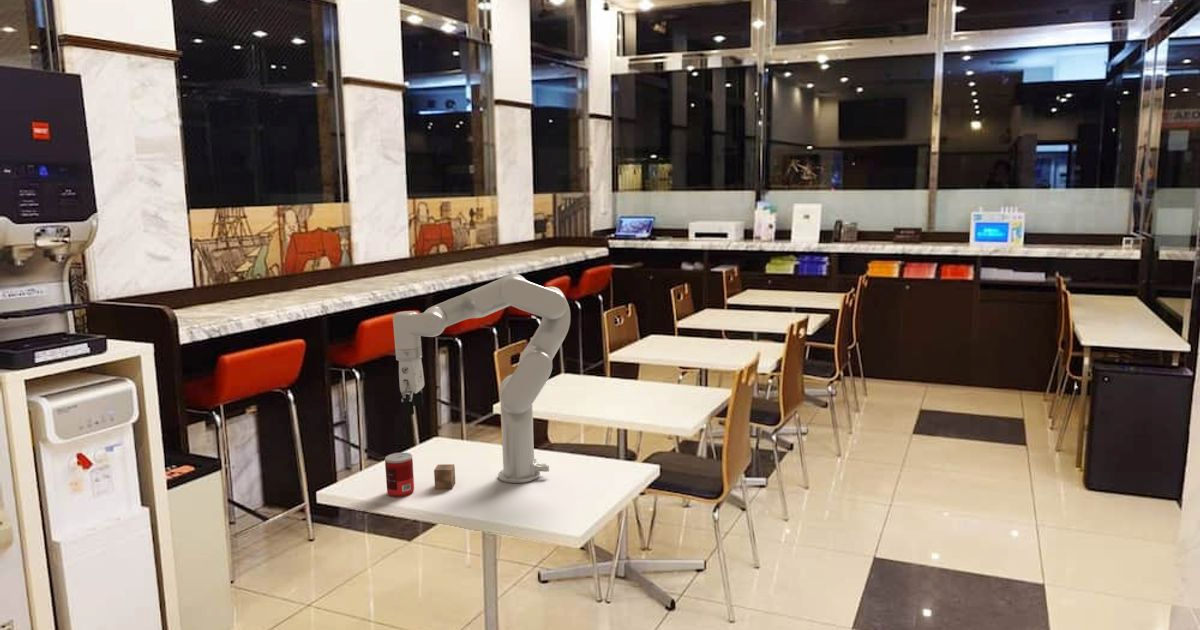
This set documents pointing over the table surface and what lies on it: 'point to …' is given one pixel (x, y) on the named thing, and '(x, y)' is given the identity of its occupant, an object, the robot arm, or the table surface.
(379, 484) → the table surface
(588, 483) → the table surface
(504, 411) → the robot arm
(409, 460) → the canned food
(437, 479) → the walnut block
